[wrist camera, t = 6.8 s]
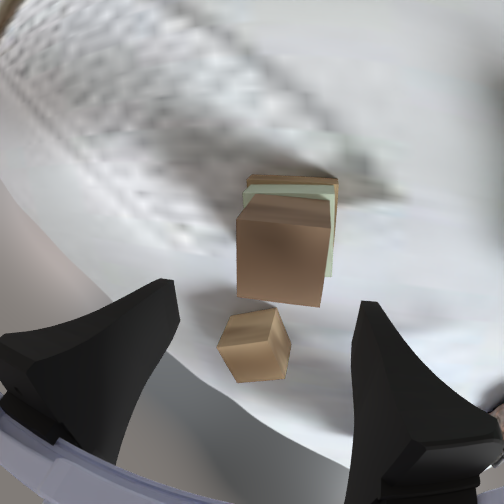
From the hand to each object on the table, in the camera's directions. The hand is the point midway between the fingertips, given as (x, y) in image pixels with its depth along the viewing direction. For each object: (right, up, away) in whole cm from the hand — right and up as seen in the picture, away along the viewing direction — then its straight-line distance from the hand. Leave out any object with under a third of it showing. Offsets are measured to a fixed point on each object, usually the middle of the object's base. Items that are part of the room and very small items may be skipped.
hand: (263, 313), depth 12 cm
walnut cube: (+2, +3, +6) cm, 7 cm away
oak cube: (0, -4, +14) cm, 15 cm away
